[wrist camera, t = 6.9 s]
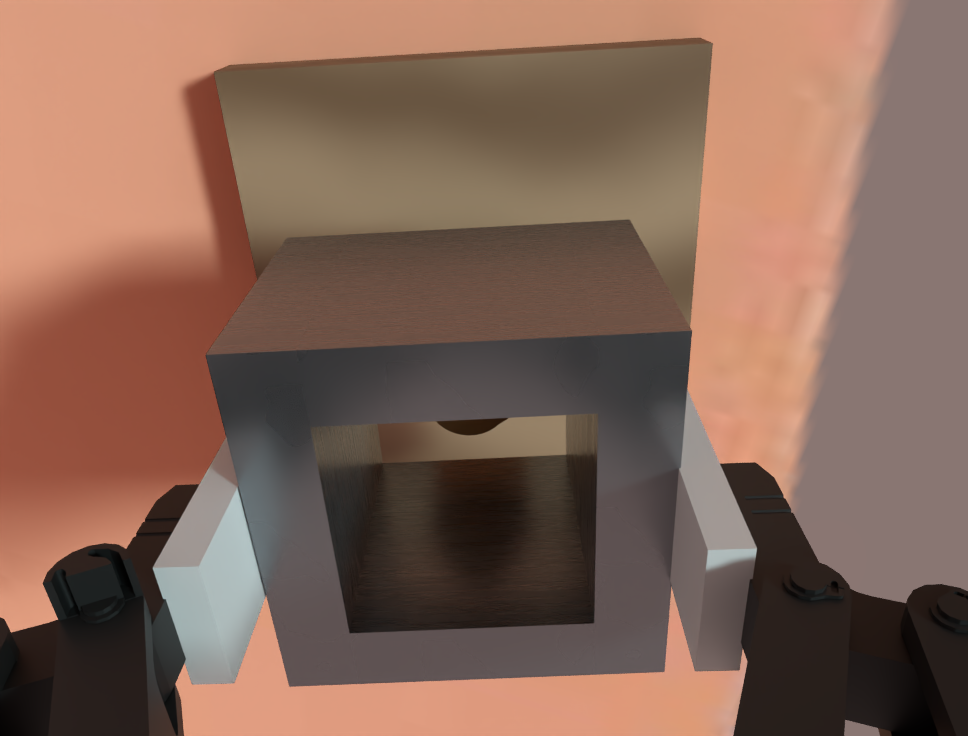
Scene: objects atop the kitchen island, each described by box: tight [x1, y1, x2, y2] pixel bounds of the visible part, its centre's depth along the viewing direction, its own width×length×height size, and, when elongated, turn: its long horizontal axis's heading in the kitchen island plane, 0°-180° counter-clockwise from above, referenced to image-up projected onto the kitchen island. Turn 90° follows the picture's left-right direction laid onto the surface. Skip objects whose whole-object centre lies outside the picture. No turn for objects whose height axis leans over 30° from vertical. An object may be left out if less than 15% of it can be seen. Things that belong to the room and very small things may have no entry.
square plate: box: [214, 38, 713, 463], centre depth 22 cm, size 14×14×8 cm
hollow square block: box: [206, 219, 692, 687], centre depth 17 cm, size 8×8×6 cm
